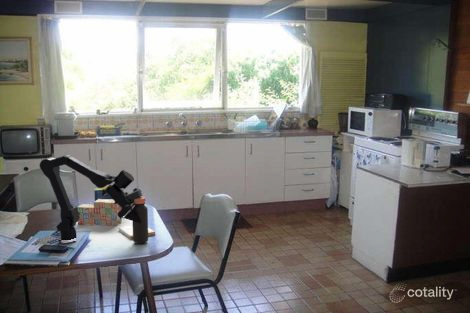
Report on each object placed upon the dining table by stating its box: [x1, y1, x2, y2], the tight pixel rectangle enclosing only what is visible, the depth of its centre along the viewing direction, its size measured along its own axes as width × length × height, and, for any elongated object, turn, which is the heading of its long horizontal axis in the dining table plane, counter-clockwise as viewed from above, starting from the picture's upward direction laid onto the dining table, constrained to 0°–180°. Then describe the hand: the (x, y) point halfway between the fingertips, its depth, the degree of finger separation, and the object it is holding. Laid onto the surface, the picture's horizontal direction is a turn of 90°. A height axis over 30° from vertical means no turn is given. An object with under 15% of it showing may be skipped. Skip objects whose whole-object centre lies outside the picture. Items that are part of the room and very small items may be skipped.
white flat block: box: [118, 224, 156, 240], centre depth 222 cm, size 12×16×2 cm
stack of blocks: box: [77, 199, 123, 227], centre depth 237 cm, size 21×6×12 cm, turn 83°
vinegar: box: [132, 196, 149, 244], centre depth 206 cm, size 7×7×20 cm
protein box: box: [93, 185, 125, 209], centre depth 253 cm, size 10×15×16 cm
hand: (143, 220), depth 206 cm, fingers closed on vinegar, 7 cm apart
